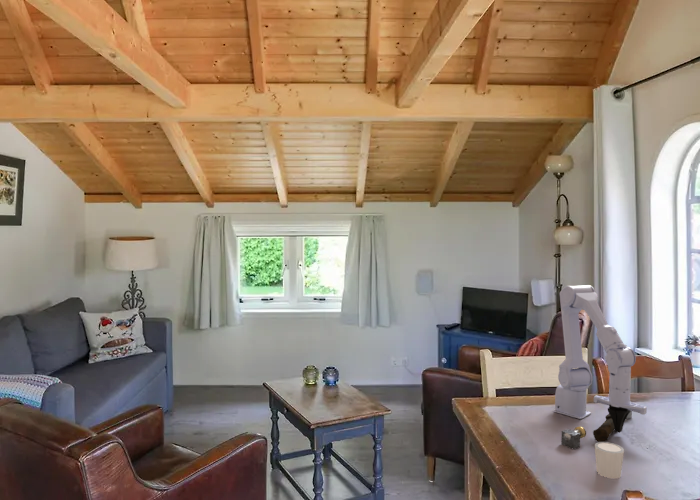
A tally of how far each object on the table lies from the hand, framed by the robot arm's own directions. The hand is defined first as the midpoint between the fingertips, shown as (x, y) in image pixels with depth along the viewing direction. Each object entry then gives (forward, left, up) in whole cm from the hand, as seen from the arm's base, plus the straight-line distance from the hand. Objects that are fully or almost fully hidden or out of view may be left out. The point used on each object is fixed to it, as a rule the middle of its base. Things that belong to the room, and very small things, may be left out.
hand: (618, 431), depth 157 cm
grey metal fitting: (-6, -16, -1) cm, 18 cm away
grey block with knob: (-5, +17, -1) cm, 17 cm away
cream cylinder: (+8, -27, -2) cm, 29 cm away
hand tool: (-2, -1, -1) cm, 3 cm away
